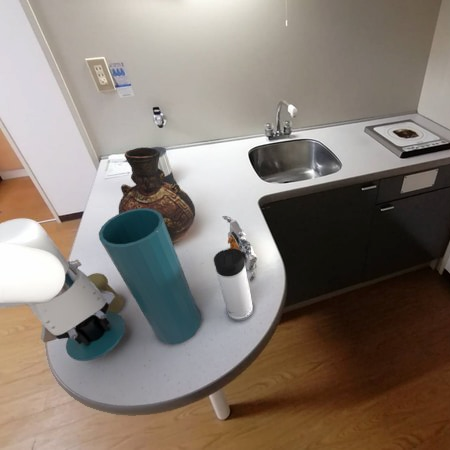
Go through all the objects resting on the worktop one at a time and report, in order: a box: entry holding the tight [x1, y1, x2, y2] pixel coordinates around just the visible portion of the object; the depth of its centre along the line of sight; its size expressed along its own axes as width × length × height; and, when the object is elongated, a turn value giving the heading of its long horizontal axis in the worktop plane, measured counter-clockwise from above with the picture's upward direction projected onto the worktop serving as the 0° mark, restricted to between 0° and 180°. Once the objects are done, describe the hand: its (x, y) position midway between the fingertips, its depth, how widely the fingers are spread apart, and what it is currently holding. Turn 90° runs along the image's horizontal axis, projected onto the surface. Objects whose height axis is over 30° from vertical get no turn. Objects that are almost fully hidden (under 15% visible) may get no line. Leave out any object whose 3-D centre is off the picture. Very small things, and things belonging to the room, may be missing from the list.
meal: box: [222, 215, 258, 281], centre depth 85 cm, size 15×4×13 cm, turn 35°
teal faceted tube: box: [98, 208, 202, 345], centre depth 64 cm, size 10×10×32 cm
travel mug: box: [213, 248, 254, 322], centre depth 71 cm, size 6×7×20 cm
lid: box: [65, 312, 126, 362], centre depth 65 cm, size 11×11×7 cm
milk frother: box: [130, 146, 178, 184], centre depth 114 cm, size 14×16×15 cm
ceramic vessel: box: [118, 146, 196, 244], centre depth 89 cm, size 21×18×30 cm
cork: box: [87, 272, 125, 314], centre depth 75 cm, size 6×6×11 cm
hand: (95, 333), depth 67 cm, fingers closed on lid, 3 cm apart
